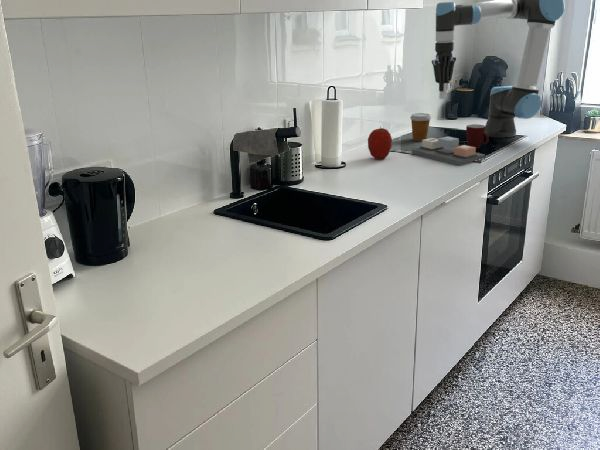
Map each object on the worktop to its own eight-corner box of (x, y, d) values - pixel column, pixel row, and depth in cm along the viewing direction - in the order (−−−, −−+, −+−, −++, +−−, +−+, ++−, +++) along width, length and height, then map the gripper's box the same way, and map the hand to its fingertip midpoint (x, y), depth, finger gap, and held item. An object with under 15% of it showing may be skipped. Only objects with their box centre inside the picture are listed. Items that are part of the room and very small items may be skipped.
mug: (492, 148, 262) (494, 126, 258) (484, 152, 256) (486, 129, 253) (469, 145, 268) (471, 123, 265) (461, 149, 263) (463, 126, 259)
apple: (375, 154, 257) (376, 122, 253) (396, 157, 252) (397, 125, 247) (362, 159, 250) (363, 126, 245) (383, 162, 244) (384, 129, 239)
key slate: (447, 143, 253) (448, 135, 252) (458, 145, 249) (459, 138, 247) (437, 145, 250) (438, 137, 249) (448, 147, 245) (449, 140, 244)
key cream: (431, 144, 261) (432, 137, 260) (442, 146, 256) (442, 139, 255) (422, 146, 258) (422, 139, 257) (432, 149, 253) (432, 141, 252)
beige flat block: (463, 151, 247) (464, 144, 246) (475, 154, 242) (475, 146, 241) (453, 154, 244) (454, 146, 243) (465, 156, 239) (465, 149, 238)
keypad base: (437, 148, 265) (437, 142, 264) (484, 159, 245) (485, 153, 244) (411, 153, 257) (412, 148, 256) (458, 165, 237) (458, 159, 236)
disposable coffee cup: (420, 143, 275) (422, 117, 271) (405, 140, 282) (406, 114, 278) (434, 140, 281) (435, 114, 277) (418, 136, 288) (419, 112, 284)
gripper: (448, 40, 254) (446, 95, 262) (426, 42, 247) (425, 99, 255) (462, 40, 248) (459, 97, 256) (440, 43, 241) (439, 101, 249)
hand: (442, 98), depth 256 cm, fingers closed
